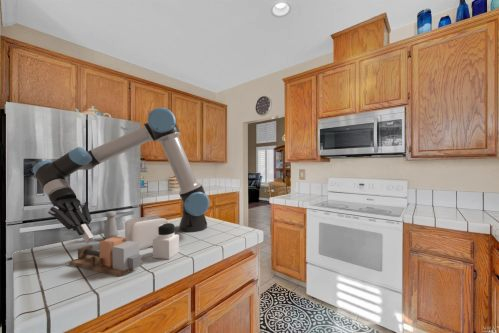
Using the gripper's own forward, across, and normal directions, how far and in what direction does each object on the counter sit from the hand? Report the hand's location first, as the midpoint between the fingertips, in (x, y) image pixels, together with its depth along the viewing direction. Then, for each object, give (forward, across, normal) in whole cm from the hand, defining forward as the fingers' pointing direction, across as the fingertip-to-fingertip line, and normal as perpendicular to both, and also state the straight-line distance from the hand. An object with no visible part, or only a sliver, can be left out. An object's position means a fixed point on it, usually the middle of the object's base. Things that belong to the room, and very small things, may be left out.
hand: (90, 240), depth 78 cm
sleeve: (+13, 0, +4) cm, 13 cm away
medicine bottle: (+22, -14, +10) cm, 28 cm away
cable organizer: (+10, -20, -1) cm, 22 cm away
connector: (+18, 0, +9) cm, 20 cm away
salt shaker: (-6, -20, -17) cm, 27 cm away
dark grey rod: (+8, 0, 0) cm, 8 cm away
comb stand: (+12, 0, 0) cm, 12 cm away
